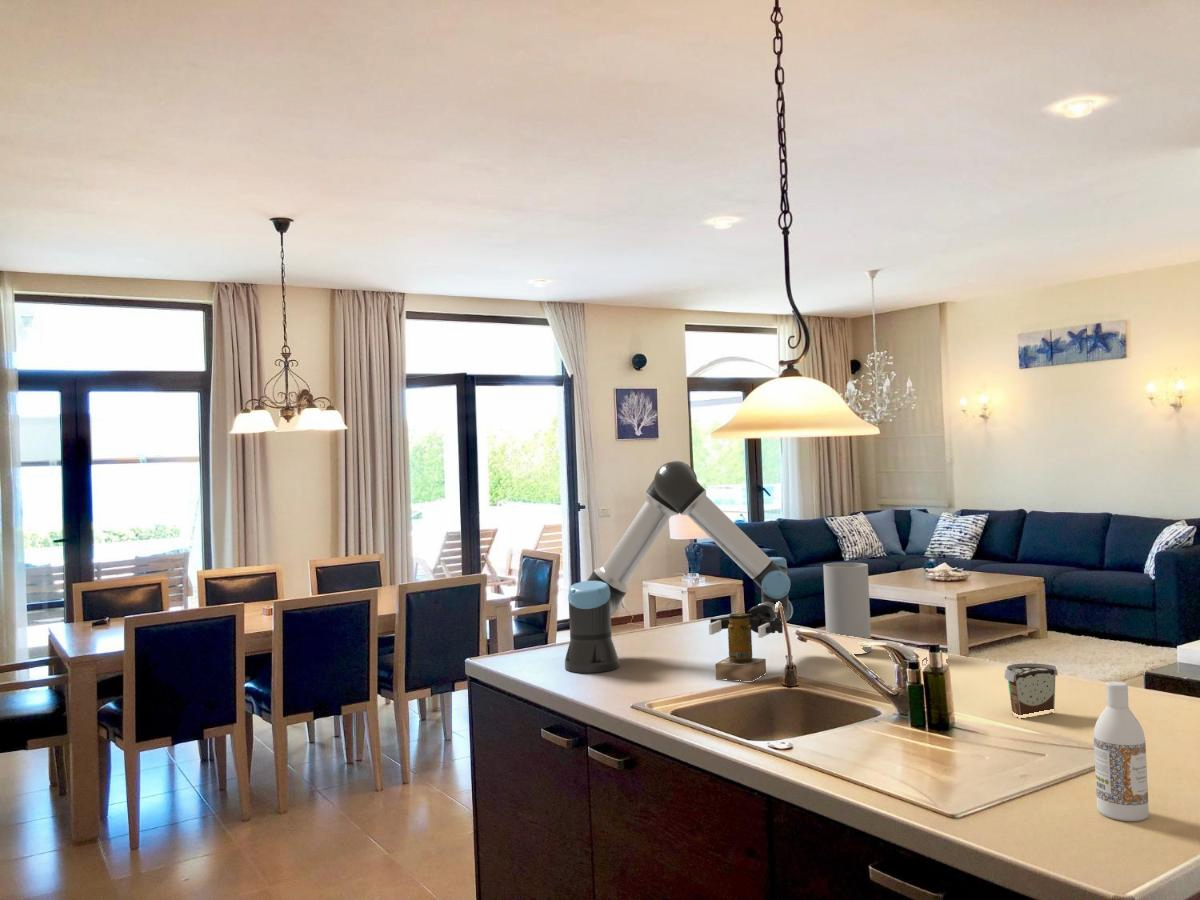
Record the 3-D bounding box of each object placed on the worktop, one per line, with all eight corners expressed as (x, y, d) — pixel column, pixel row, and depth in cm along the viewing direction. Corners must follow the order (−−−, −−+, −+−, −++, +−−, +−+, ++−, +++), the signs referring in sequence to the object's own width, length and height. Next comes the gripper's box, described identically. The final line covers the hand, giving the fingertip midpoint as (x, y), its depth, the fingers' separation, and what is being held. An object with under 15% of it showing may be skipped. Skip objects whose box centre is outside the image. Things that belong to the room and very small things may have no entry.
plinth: (716, 679, 242) (715, 663, 242) (730, 671, 250) (730, 655, 250) (752, 682, 237) (751, 665, 237) (766, 674, 245) (765, 658, 245)
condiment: (739, 656, 249) (737, 611, 249) (764, 660, 243) (762, 614, 243) (721, 661, 244) (719, 615, 244) (746, 665, 238) (744, 618, 238)
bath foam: (1128, 826, 139) (1121, 690, 139) (1087, 811, 145) (1080, 681, 145) (1159, 817, 141) (1153, 684, 142) (1118, 803, 148) (1112, 676, 148)
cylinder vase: (823, 647, 277) (819, 563, 277) (865, 646, 276) (861, 561, 277) (831, 656, 264) (828, 568, 265) (876, 655, 264) (872, 566, 264)
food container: (1036, 706, 205) (1034, 660, 206) (1059, 712, 200) (1057, 665, 200) (992, 713, 201) (990, 666, 201) (1015, 720, 195) (1013, 672, 195)
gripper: (807, 633, 253) (781, 648, 235) (722, 628, 266) (691, 642, 247) (806, 606, 253) (780, 618, 235) (721, 602, 266) (690, 614, 247)
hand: (734, 630), depth 241 cm, fingers open, 13 cm apart
